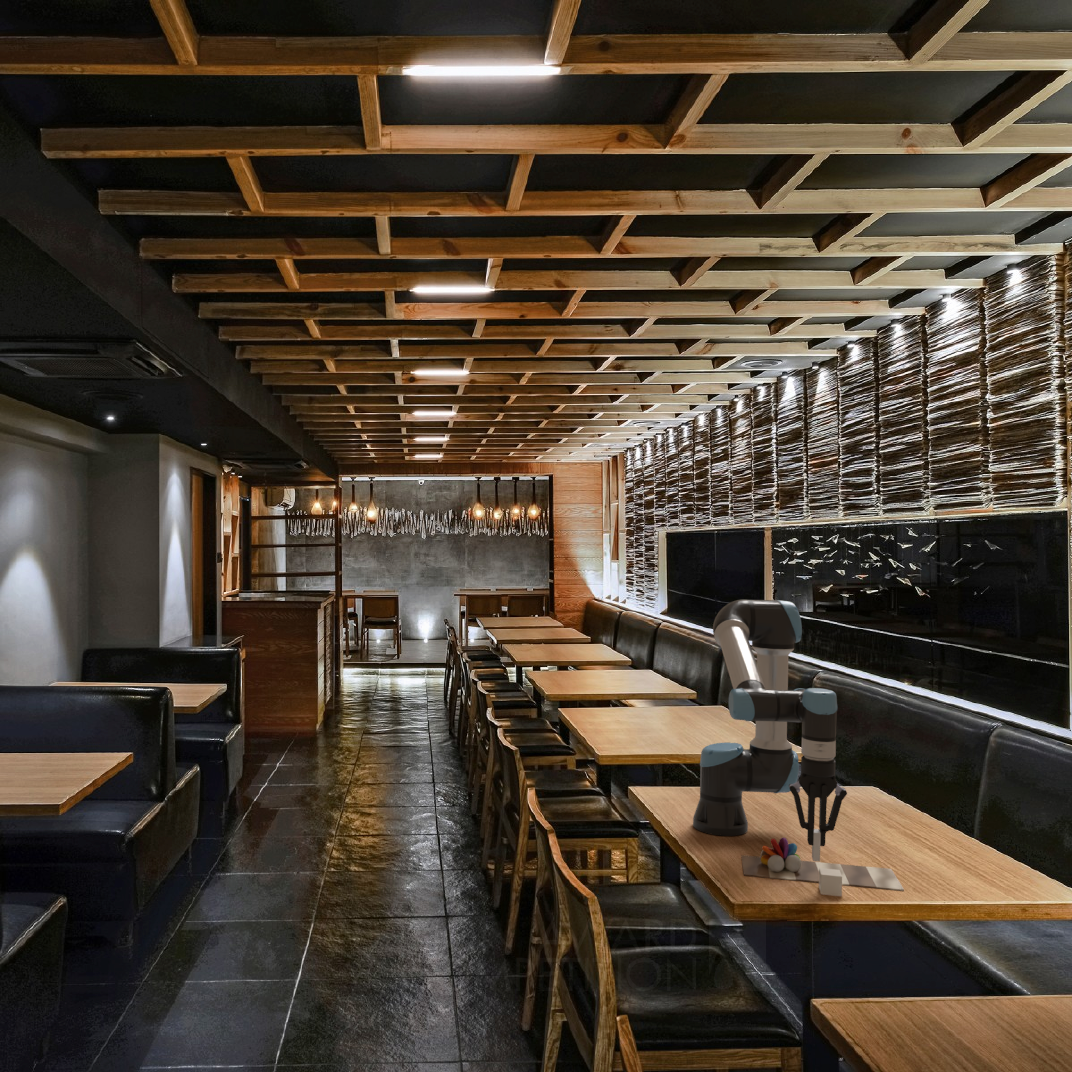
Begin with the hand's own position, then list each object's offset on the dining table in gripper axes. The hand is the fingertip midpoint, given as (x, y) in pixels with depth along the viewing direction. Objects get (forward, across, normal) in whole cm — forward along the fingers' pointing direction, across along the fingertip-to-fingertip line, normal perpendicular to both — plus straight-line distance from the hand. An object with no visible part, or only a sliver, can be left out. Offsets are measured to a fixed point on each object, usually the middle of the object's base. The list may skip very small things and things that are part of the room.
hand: (815, 859), depth 197 cm
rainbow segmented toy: (+7, -7, +11) cm, 15 cm away
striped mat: (+7, +2, +11) cm, 13 cm away
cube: (+7, +3, -1) cm, 8 cm away
